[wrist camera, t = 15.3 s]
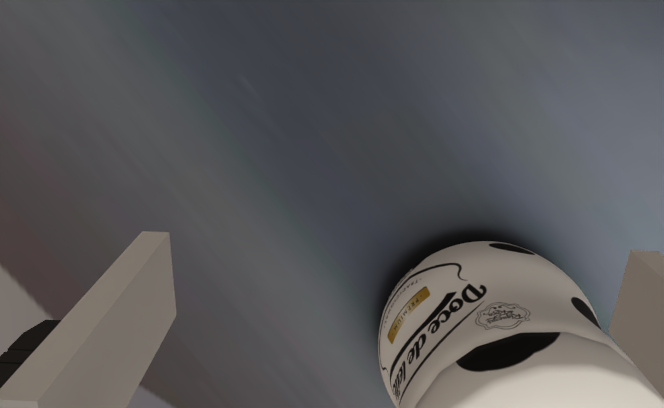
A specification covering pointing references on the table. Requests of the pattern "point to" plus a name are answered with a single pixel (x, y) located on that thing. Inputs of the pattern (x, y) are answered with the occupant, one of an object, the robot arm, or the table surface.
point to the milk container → (500, 337)
